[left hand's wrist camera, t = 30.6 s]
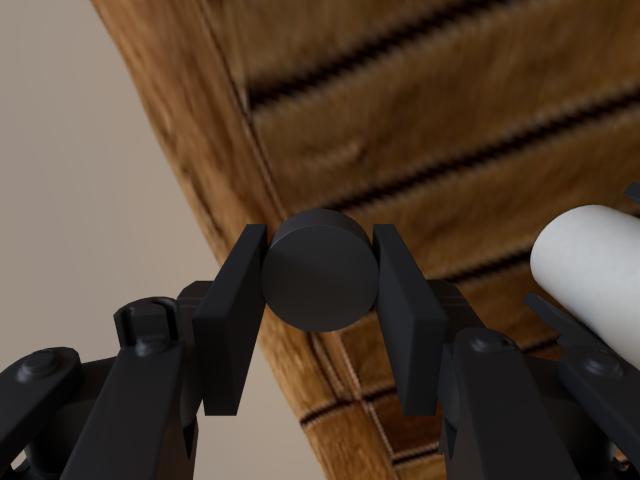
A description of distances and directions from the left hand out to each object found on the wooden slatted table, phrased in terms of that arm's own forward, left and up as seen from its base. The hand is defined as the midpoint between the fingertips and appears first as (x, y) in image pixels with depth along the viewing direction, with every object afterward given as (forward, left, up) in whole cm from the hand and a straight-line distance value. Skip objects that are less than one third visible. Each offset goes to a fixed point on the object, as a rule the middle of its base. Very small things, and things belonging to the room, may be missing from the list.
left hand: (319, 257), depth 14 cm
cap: (0, 0, +2) cm, 2 cm away
